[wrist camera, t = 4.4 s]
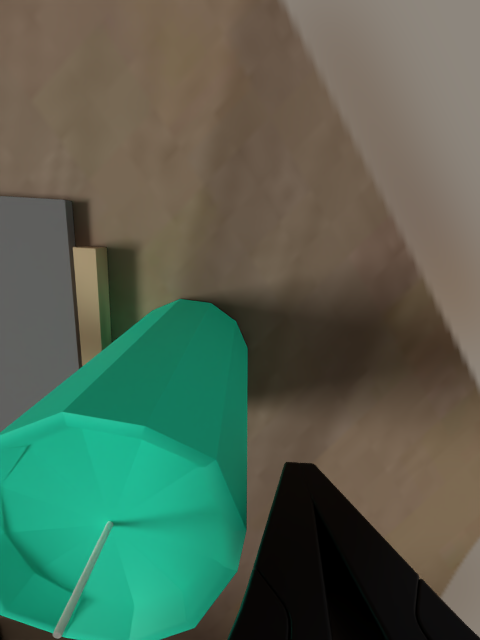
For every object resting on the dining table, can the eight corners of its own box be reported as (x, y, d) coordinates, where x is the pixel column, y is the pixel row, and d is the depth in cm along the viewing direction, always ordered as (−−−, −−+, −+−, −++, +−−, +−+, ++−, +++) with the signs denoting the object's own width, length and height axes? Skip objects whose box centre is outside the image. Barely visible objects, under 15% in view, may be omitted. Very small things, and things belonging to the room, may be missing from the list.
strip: (116, 429, 18) (107, 443, 17) (98, 428, 18) (88, 442, 17) (106, 247, 15) (95, 248, 14) (85, 246, 15) (72, 247, 14)
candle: (183, 425, 18) (61, 789, 6) (109, 344, 17) (-214, 602, 5) (271, 365, 17) (323, 668, 5) (198, 274, 15) (48, 395, 4)
